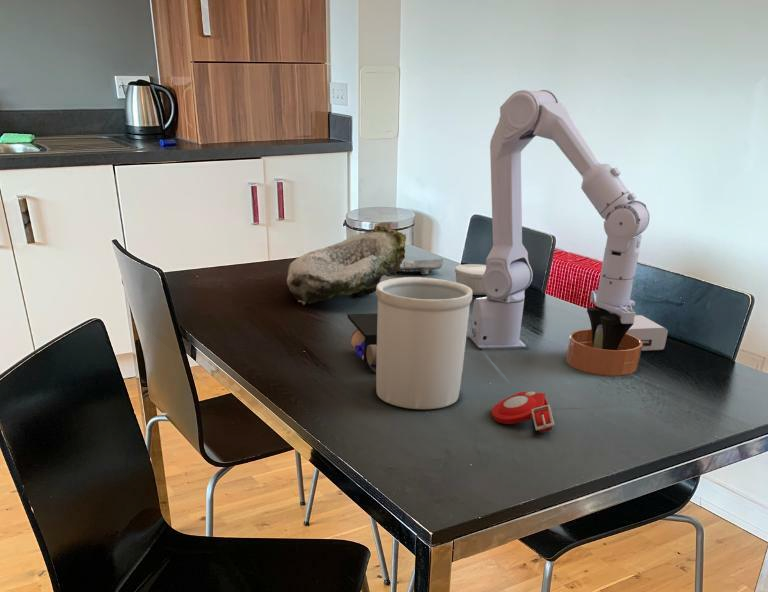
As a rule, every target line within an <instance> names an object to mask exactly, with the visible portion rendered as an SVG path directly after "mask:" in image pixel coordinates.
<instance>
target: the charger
mask: <svg viewBox="0 0 768 592" xmlns="http://www.w3.org/2000/svg"><path fill="white" fill-rule="evenodd" d="M668 332H669V330H668V329H667V328H666V327H664V326H662V325H660V324H658V323H657V322H655V321H653V320H651V319H649V318H648V317H646V316H644V315H642V314H635V318H634V323H633V325H632V326H631V327H630V329H629V330H628V331H627V332H626V334H629V335H632V336H634V337H637V338H638V339H639V340H641V342H642V344H643V345H642V350H641V352H642V351H661V350H664V349H665V346H666V343H667V337H668V334H669V333H668Z"/></svg>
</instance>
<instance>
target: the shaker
mask: <svg viewBox="0 0 768 592" xmlns="http://www.w3.org/2000/svg"><path fill="white" fill-rule="evenodd" d="M602 344H603V328H602V324H601V325H598V326H597V329H596V332H595V338H594V343H593V348H599V349H602Z"/></svg>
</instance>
